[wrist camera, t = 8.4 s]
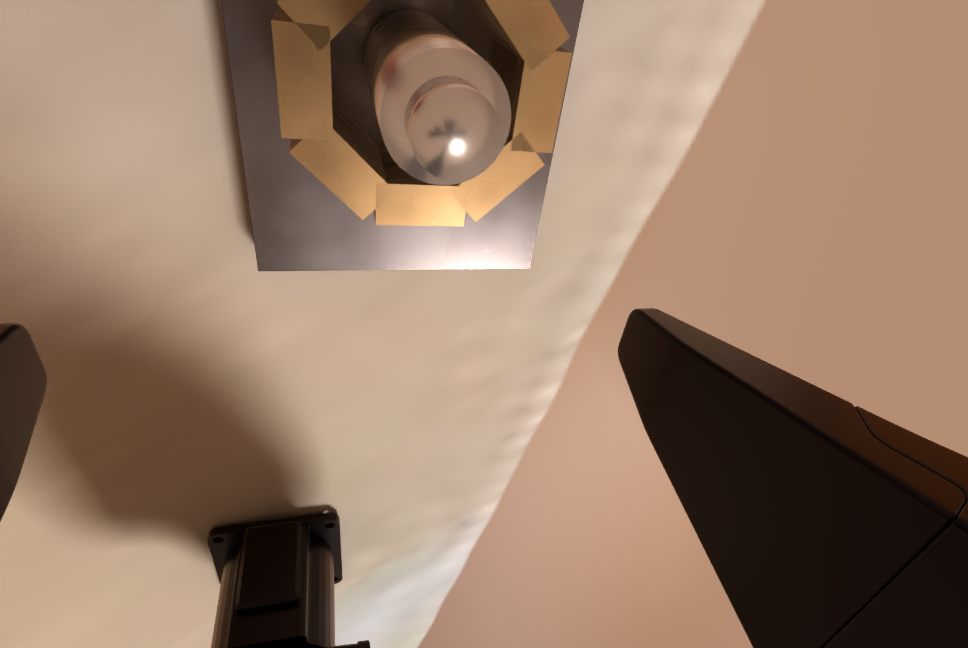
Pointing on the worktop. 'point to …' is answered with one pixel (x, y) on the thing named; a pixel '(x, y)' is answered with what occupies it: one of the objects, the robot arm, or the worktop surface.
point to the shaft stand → (387, 138)
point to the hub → (366, 162)
